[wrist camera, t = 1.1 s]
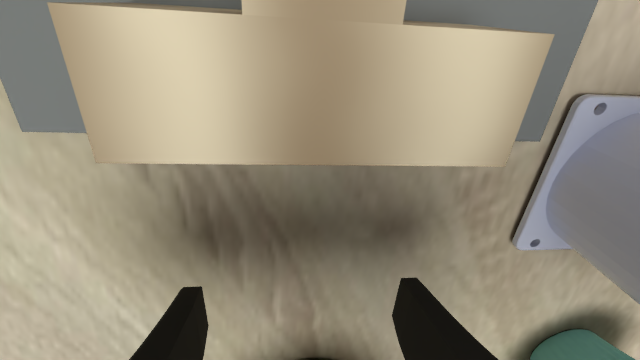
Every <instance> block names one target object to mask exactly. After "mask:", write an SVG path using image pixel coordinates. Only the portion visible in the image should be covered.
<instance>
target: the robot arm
mask: <svg viewBox="0 0 640 360" xmlns="http://www.w3.org/2000/svg"><path fill="white" fill-rule="evenodd" d="M597 105H598V107H597V108H596V110H594V109H595V107H596V106H597ZM512 243H513V245H514V246H515V247H516V248H517V249H519V250H552V249H574V250H575V251H577V252H578V253H579V254H580V255H581V256H583V257H584V258H585V259H586V260H587V261H588V262H590V263H591V264H592V265H593V266H594V267H596V268H597V269H598V270H599V271H600V272H602V273H603V274H604V275H605V276H606V277H608V278H609V279H610V280H611V281H612V282H613V283H615V284H616V285H617V286H618V287H619V288H621V289H622V290H623V291H624V292H625V293H627V294H628V295H629V296H630V297H631V298H633V299H634V300H635V301H636V302H637V303H638V304H640V96H623V95H597V94H586V95H582V96H580V97H578V98H577V99H576V100H575V101H574V103H573V104H572V106H571V108H570V110H569V113H568V115H567V117H566V120H565V122H564V124H563V126H562V129H561V131H560V133H559V135H558V138H557V140H556V142H555V145H554V147H553V149H552V151H551V154H550V156H549V158H548V160H547V163H546V165H545V167H544V170H543V172H542V174H541V176H540V179H539V181H538V183H537V186H536V188H535V190H534V192H533V195H532V197H531V199H530V201H529V204H528V206H527V208H526V211H525V213H524V215H523V217H522V220H521V222H520V224H519V226H518V229H517V231H516V233H515V236H514V238H513V241H512ZM392 317H393V321H394V325H395V330H396V333H397V337H398V341H399V344H400V347H401V350H402V353H403V355H404V358H405V360H498V359H497V358H496V357H495V356H494V355H492V354H491V353H490V352H489V351H488V350H487V349H486V348H485V347H484V346H483V345H481V344H480V343H479V342H478V341H477V340H476V339H475V338H474V337H473V336H472V335H471V334H470V333H469V332H468V331H467V330H466V329H465V328H464V327H463V326H462V325H461V324H460V323H459V322H458V321H457V320H456V319H455V318H454V317H453V316H452V315H451V314H450V313H449V312H448V311H447V310H446V309H445V308H444V307H443V305H442V304H441V303H440V302H439V301H438V300H437V299H436V298H435V297H434V296H433V295H432V294H431V293H430V291H429V290H428V289H427V288H426V287H425V286H424V285H423V284H422V283H421V282H420V281H419V280H418V279H417V278H401V281H400V285H399V289H398V293H397V297H396V301H395V305H394V309H393V314H392ZM207 331H208V321H207V315H206V309H205V303H204V297H203V291H202V287H183V288H182V289H181V290H180V292H179V293H178V295H177V296H176V298H175V299H174V301H173V302H172V304H171V305H170V306H169V308H168V309H167V311H166V312H165V314H164V315H163V316H162V318H161V319H160V321H159V322H158V323H157V325H156V326H155V327H154V329H153V330H152V331H151V333H150V334H149V335H148V337H147V338H146V339H145V341H144V342H143V343H142V345H141V346H140V347H139V348H138V350H137V351H136V352H135V353H134V355H133V356H132V357H131V358H130V359H129V360H203V356H204V350H205V344H206V338H207Z"/></svg>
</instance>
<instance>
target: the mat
mask: <svg viewBox="0 0 640 360" xmlns="http://www.w3.org/2000/svg"><path fill="white" fill-rule="evenodd" d="M47 2H87V3H144V4H160V5H175V6H190V7H206V8H221V9H237V10H242V0H0V78H1V81H2V83H3V86H4V88H5V91H6V93H7V96H8V98H9V101H10V103H11V106H12V108H13V110H14V113H15V115H16V118H17V120H18V123H19V125H20V128H21V130H22V132H66V133H87V132H86V129H85V125H84V122H83V119H82V115H81V112H80V109H79V106H78V102H77V99H76V96H75V93H74V89H73V86H72V83H71V79H70V76H69V73H68V70H67V66H66V63H65V60H64V57H63V53H62V50H61V47H60V43H59V40H58V37H57V34H56V30H55V27H54V24H53V21H52V17H51V14H50V11H49V7H48V4H47ZM597 2H598V0H407V1H406V7H405V13H404V19H403V20H407V21H422V22H437V23H453V24H468V25H477V26H486V27H495V28H504V29H512V30H521V31H530V32H539V33H547V34H555V35H554V38H553V40H552V43H551V46H550V48H549V51H548V54H547V56H546V59H545V62H544V64H543V67H542V70H541V72H540V75H539V78H538V80H537V83H536V86H535V88H534V91H533V94H532V96H531V99H530V102H529V104H528V107H527V110H526V112H525V115H524V118H523V120H522V123H521V125H520V128H519V131H518V133H517V136H516V139H515V141H539V142H540V140H541V137H542V135H543V132H544V130H545V128H546V125H547V123H548V120H549V118H550V116H551V113H552V111H553V108H554V106H555V104H556V101H557V99H558V96H559V94H560V91H561V89H562V87H563V84H564V82H565V79H566V77H567V75H568V72H569V70H570V67H571V65H572V62H573V60H574V58H575V55H576V53H577V50H578V48H579V46H580V43H581V41H582V38H583V36H584V33H585V31H586V29H587V26H588V24H589V21H590V19H591V17H592V14H593V12H594V9H595V7H596V4H597Z"/></svg>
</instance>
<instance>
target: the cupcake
mask: <svg viewBox="0 0 640 360" xmlns="http://www.w3.org/2000/svg"><path fill="white" fill-rule="evenodd" d="M530 360H635V359H634V358H632V357H630V356H629V355H627V354H625V353H624V352H622V351H620V350H619V349H617V348H616V347H614V346H613V345H611V344H609V343H608V342H606V341H605V340H603V339H602V338H600V337H599V336H598V335H596V334H595V333H593V332H591V331H589V330H584V329H574V330H568V331H564V332H561V333H558V334H556V335H554V336H552V337H550V338H548V339H546V340H545V341H543V342H542V343H541V344H540V345H539V346H538V347H537V348H536V349H535V350H534V351H533V353H532V355H531V357H530Z"/></svg>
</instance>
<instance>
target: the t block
mask: <svg viewBox="0 0 640 360" xmlns="http://www.w3.org/2000/svg"><path fill="white" fill-rule="evenodd" d="M406 1H407V0H242V10H237V9H221V8H206V7H190V6H175V5H160V4H144V3H87V2H47V4H48V7H49V11H50V14H51V17H52V21H53V24H54V27H55V30H56V34H57V37H58V40H59V43H60V47H61V50H62V53H63V57H64V60H65V63H66V66H67V70H68V73H69V76H70V79H71V83H72V86H73V89H74V93H75V96H76V99H77V102H78V106H79V109H80V112H81V115H82V119H83V122H84V125H85V129H86V132H87V135H88V138H89V142H90V145H91V148H92V151H93V155H94V158H95V161H96V163H136V164H252V165H368V166H484V167H505V165H506V163H507V160H508V157H509V155H510V152H511V149H512V147H513V144H514V141H515V139H516V136H517V133H518V131H519V128H520V125H521V123H522V120H523V118H524V115H525V112H526V110H527V107H528V104H529V102H530V99H531V96H532V94H533V91H534V88H535V86H536V83H537V80H538V78H539V75H540V72H541V70H542V67H543V64H544V62H545V59H546V56H547V54H548V51H549V48H550V46H551V43H552V40H553V38H554V35H555V34H547V33H539V32H530V31H521V30H512V29H504V28H495V27H486V26H477V25H468V24H453V23H437V22H422V21H407V20H403V19H404V13H405V7H406Z"/></svg>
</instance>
